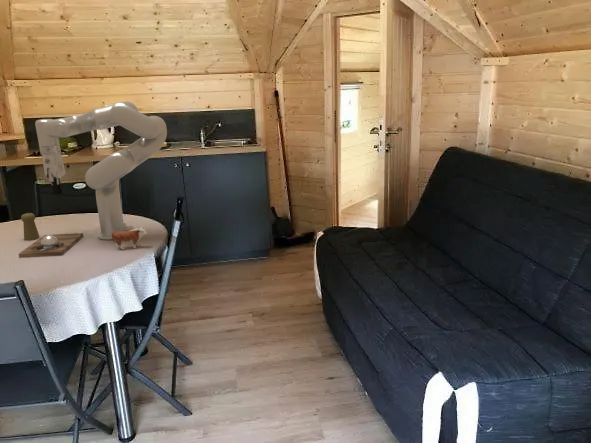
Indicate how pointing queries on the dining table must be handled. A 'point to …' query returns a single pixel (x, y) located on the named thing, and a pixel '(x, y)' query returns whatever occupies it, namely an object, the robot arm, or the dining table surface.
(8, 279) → the dining table surface
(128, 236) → the bull figurine
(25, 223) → the cork
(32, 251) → the board
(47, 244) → the ball
